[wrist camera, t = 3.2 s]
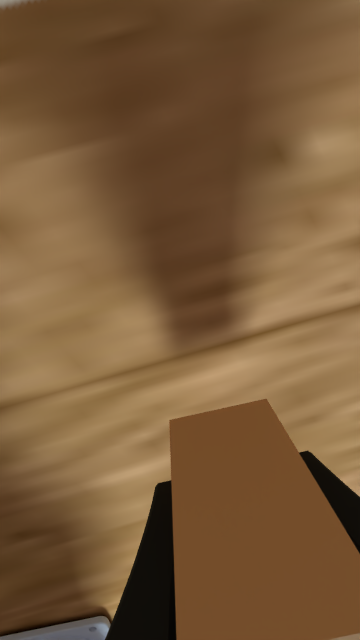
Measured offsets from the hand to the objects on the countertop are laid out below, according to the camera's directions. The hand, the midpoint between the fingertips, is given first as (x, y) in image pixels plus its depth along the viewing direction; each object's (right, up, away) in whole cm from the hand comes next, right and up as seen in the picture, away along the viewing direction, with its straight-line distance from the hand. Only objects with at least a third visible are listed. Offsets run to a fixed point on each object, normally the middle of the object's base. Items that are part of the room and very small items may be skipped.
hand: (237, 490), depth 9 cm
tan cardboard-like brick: (0, +1, +2) cm, 2 cm away
